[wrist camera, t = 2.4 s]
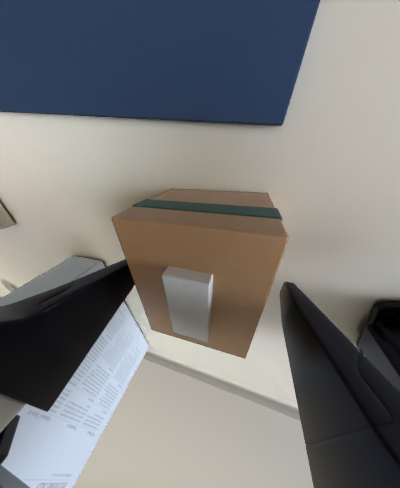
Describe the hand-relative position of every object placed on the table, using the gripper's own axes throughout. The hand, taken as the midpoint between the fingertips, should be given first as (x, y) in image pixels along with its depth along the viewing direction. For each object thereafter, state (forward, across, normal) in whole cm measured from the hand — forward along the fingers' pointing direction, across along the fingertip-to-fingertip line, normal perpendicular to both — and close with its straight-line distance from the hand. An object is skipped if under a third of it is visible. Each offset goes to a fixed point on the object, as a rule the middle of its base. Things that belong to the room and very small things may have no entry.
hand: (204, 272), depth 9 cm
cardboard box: (+3, 0, 0) cm, 3 cm away
